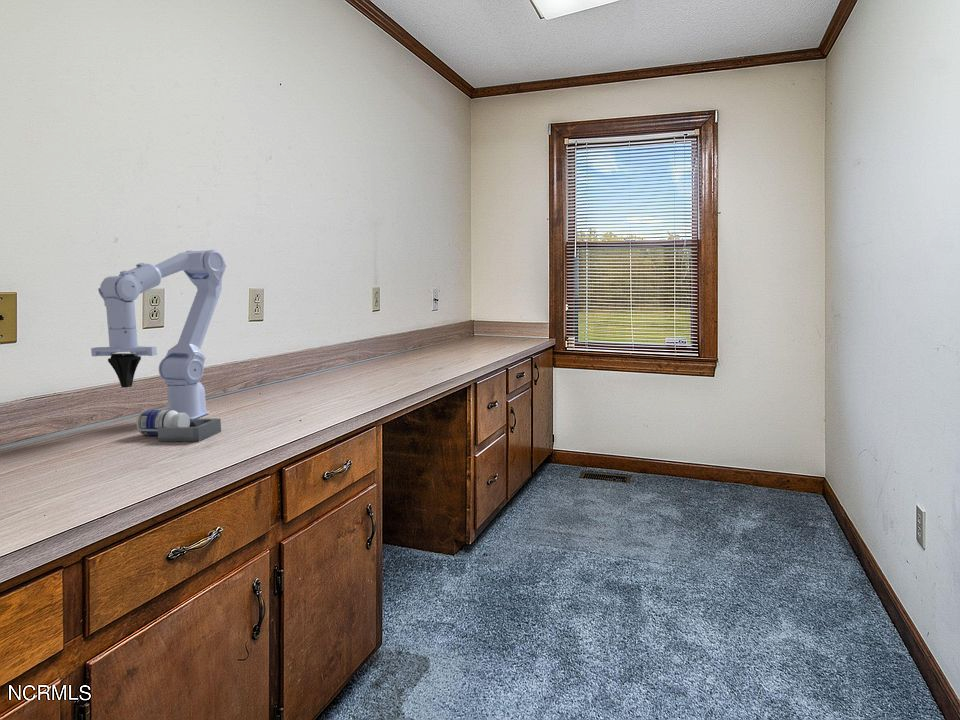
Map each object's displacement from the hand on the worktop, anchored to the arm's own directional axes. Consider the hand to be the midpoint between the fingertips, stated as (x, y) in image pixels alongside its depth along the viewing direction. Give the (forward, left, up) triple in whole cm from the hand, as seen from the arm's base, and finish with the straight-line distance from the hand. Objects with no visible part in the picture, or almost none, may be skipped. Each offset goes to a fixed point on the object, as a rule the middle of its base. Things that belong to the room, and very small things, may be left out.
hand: (126, 386), depth 150 cm
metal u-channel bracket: (+5, +17, -10) cm, 21 cm away
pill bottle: (+4, +6, -8) cm, 10 cm away
